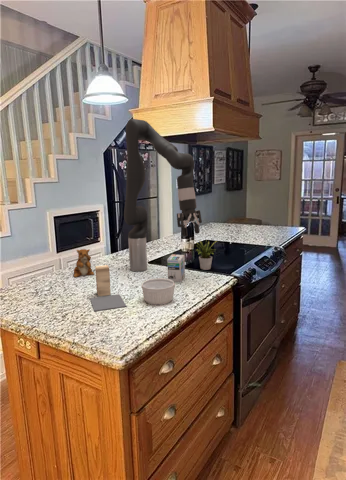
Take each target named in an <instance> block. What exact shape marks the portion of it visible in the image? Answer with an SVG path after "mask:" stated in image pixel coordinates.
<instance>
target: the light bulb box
mask: <svg viewBox="0 0 346 480" xmlns="http://www.w3.org/2000/svg"><path fill="white" fill-rule="evenodd" d="M185 255H186V254H171V255H170V256H169V257H168V258H167V259H166V260H167V265H166V267H167V279H169V280H172V281H174V283H182V282H183V280H184V278H185V277H186V269H185V268H186V266H185V265H186V258H185Z"/></svg>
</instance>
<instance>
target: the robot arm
mask: <svg viewBox="0 0 346 480" xmlns="http://www.w3.org/2000/svg"><path fill="white" fill-rule="evenodd" d="M140 140H141V141H145V142H148V143H149V144H151V145H152V146H153V148H154V150H155V152H157V154H158V155H160V156H161V157H163V158H164V159H165V160H166V161H167V163H168V164H169V165H170V167H172V168H173V169H176V170H180V171H181V174H180V175H178V176H177V178H176V184H177V197H178V206H179V210H180V211H181V212H179V213H176V222H177V227H178V228H181V233H182V237H187V236H188V229H187V225H188V224H189V222H191V223H192V224H193V231H194V234H196V235H198V234H200V224H202V214H201V210H197V198H196V192H195V186H194V169H195V159H194V157H193V155H191V154H190V153H187V152H184V153H183V152H179V150H178V147H177V146H176V145H174V144H173V143H171V142H170V141H168V140H167V139H166V138H165V137H163V136H162V135H161V134H159V132H158V131H157V130H156V129H154V127H153V126H152V125H151V124H150V123H149V122H148V121H146V120H143V119H137V118H136V119H135V118H131V119H129V120H127V123H126V124H125V141H126V184H125V185H126V191H125V201H124V211H123V218H124V221H125V223H126V224H127V226H133V228H132V229H130V231H129V232H128V233H127V235H128V236H127V238H128V258H129V260H128V261H129V271H131V272H144V271H147V270H148V255H147V253H148V251H147V248H148V247H147V234H148V233H147V232H148V211H147V209H146V208H145V207H144V206H141V205H137V201H138V198H139V194H140V193H141V191H142V188H143V187H144V185H145V181H146V166H145V163H144V160H143V158H142V156H141V153H140V149H139V141H140Z"/></svg>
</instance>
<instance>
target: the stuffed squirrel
mask: <svg viewBox="0 0 346 480" xmlns="http://www.w3.org/2000/svg"><path fill="white" fill-rule="evenodd" d="M89 252H90V249H85V248H83V249H81V248H80V249H76V253H77V254H78V256H77V257H78V258H77V260H76V264H75V267H74V269H73V278H78V277H81V276H94V275H95V272H94V271H93V268H92V264H91V262H90V261H91V258H92V256H91V255H89Z"/></svg>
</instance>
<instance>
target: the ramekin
mask: <svg viewBox="0 0 346 480" xmlns="http://www.w3.org/2000/svg"><path fill="white" fill-rule="evenodd" d="M175 283H176V282H174V281H172V280H169V279H168V278H164V277H163V278H150V279H147V280H144V281H143V282H142V283H141V289H142V294H143V299H144V301H145V302H146V303H148V304H150V305H164V304H168V303H170V302H171V301H172V300H173V299H174V293H175V286H176V285H175Z"/></svg>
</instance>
